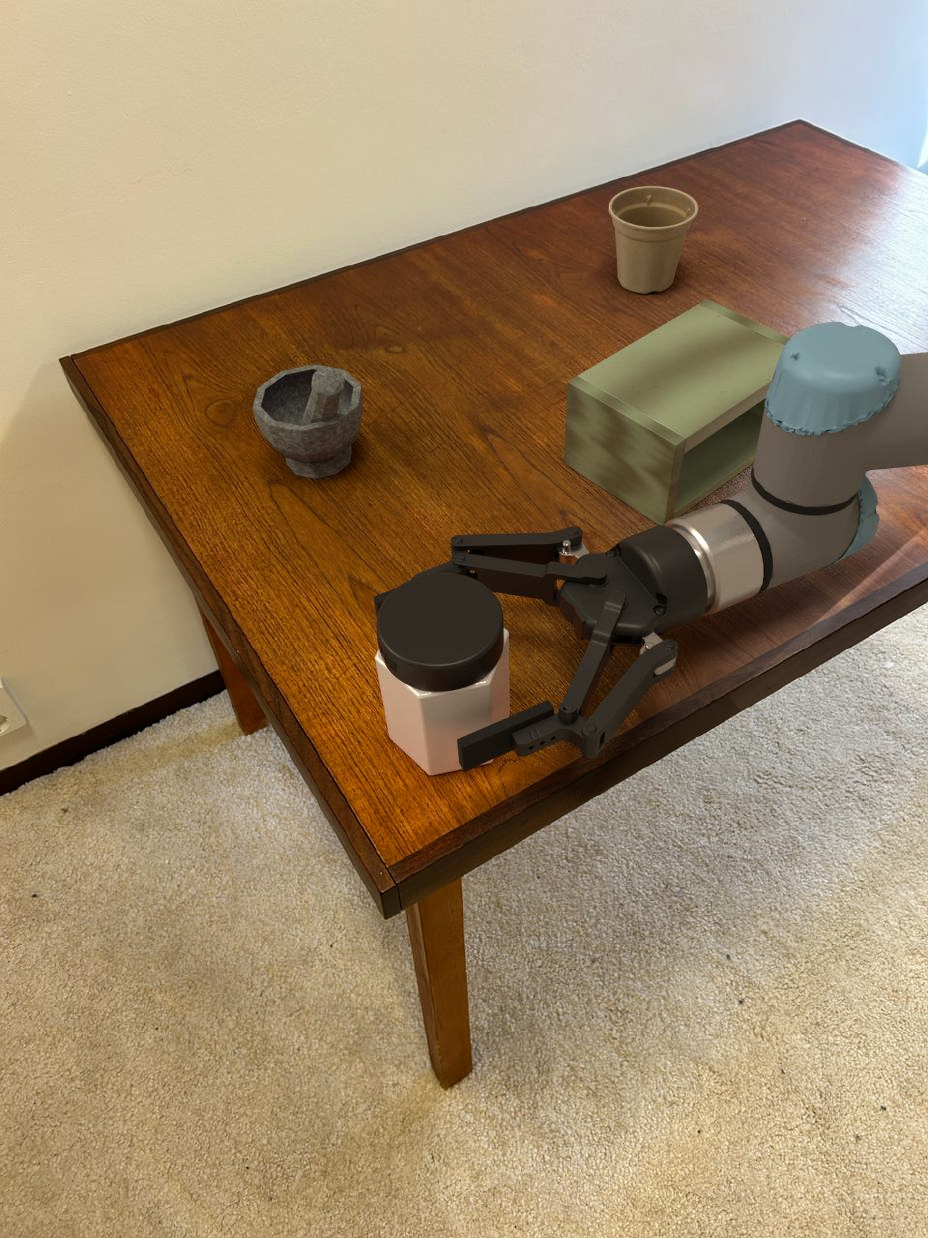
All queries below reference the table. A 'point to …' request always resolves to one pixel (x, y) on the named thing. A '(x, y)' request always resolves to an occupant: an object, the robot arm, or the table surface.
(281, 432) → the mortar and pestle
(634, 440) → the olive green cubby
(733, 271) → the table surface
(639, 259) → the flower pot
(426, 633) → the jar
